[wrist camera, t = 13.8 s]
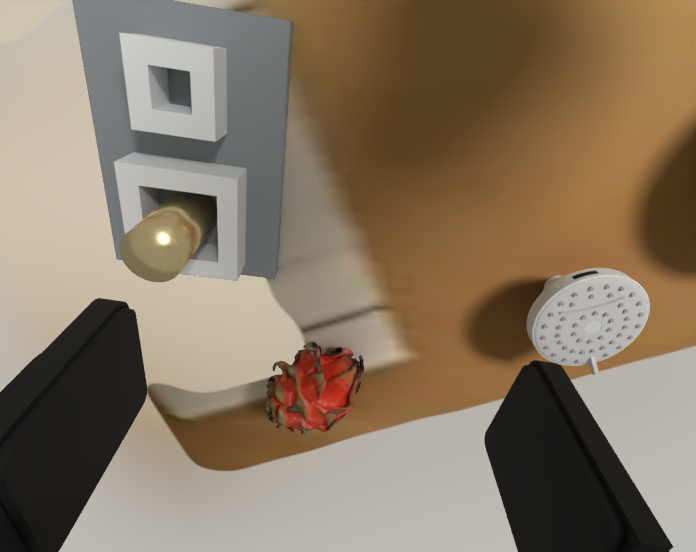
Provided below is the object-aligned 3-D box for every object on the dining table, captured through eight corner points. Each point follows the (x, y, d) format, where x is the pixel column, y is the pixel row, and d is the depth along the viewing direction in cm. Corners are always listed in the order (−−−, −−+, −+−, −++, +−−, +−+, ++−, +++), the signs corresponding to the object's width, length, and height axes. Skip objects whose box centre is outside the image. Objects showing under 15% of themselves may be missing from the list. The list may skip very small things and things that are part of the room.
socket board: (83, -15, 26) (36, -26, 22) (293, 22, 27) (284, 17, 23) (125, 251, 36) (98, 276, 32) (277, 270, 37) (269, 296, 33)
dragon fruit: (267, 374, 46) (351, 319, 44) (303, 439, 44) (392, 386, 42) (230, 388, 38) (331, 322, 36) (273, 470, 36) (381, 405, 34)
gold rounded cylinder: (167, 184, 31) (115, 223, 24) (218, 192, 31) (180, 232, 25) (171, 229, 33) (124, 277, 26) (218, 236, 33) (184, 285, 27)
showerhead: (541, 389, 35) (532, 300, 30) (511, 337, 41) (500, 257, 36) (654, 364, 33) (663, 267, 29) (605, 314, 40) (606, 228, 35)
